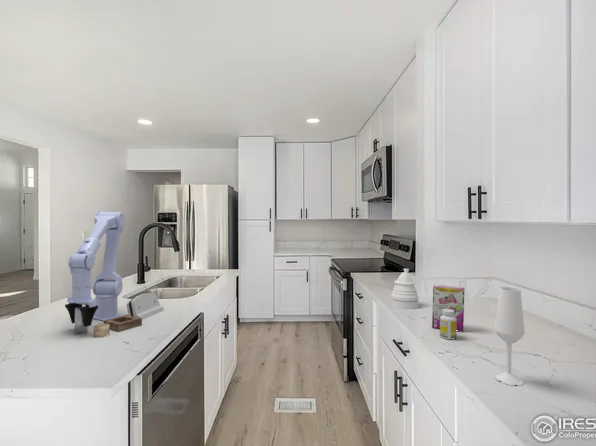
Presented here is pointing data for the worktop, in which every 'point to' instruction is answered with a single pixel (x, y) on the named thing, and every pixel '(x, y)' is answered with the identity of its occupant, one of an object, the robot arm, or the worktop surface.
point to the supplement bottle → (448, 324)
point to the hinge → (144, 306)
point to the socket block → (123, 322)
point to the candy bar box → (448, 304)
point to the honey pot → (404, 292)
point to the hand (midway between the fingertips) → (81, 324)
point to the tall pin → (79, 322)
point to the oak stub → (101, 330)
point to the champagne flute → (509, 326)
